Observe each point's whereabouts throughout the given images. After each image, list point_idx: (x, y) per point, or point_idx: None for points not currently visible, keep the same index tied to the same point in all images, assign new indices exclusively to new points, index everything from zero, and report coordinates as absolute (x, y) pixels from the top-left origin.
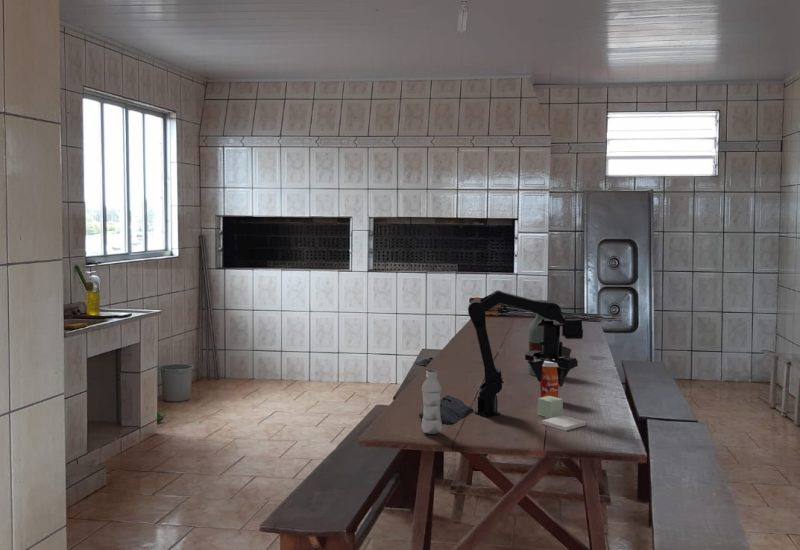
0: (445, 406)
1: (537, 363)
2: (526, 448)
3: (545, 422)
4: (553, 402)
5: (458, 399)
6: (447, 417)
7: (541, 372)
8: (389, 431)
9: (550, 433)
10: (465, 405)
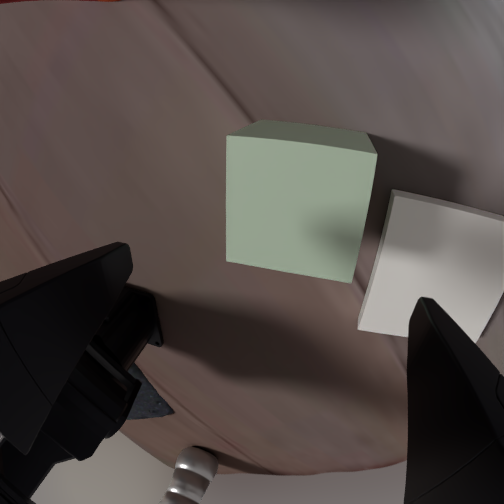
0: None
1: (1, 407)
2: None
3: (378, 329)
4: (356, 256)
5: None
6: (150, 413)
7: (58, 286)
8: (158, 451)
9: None
10: None
